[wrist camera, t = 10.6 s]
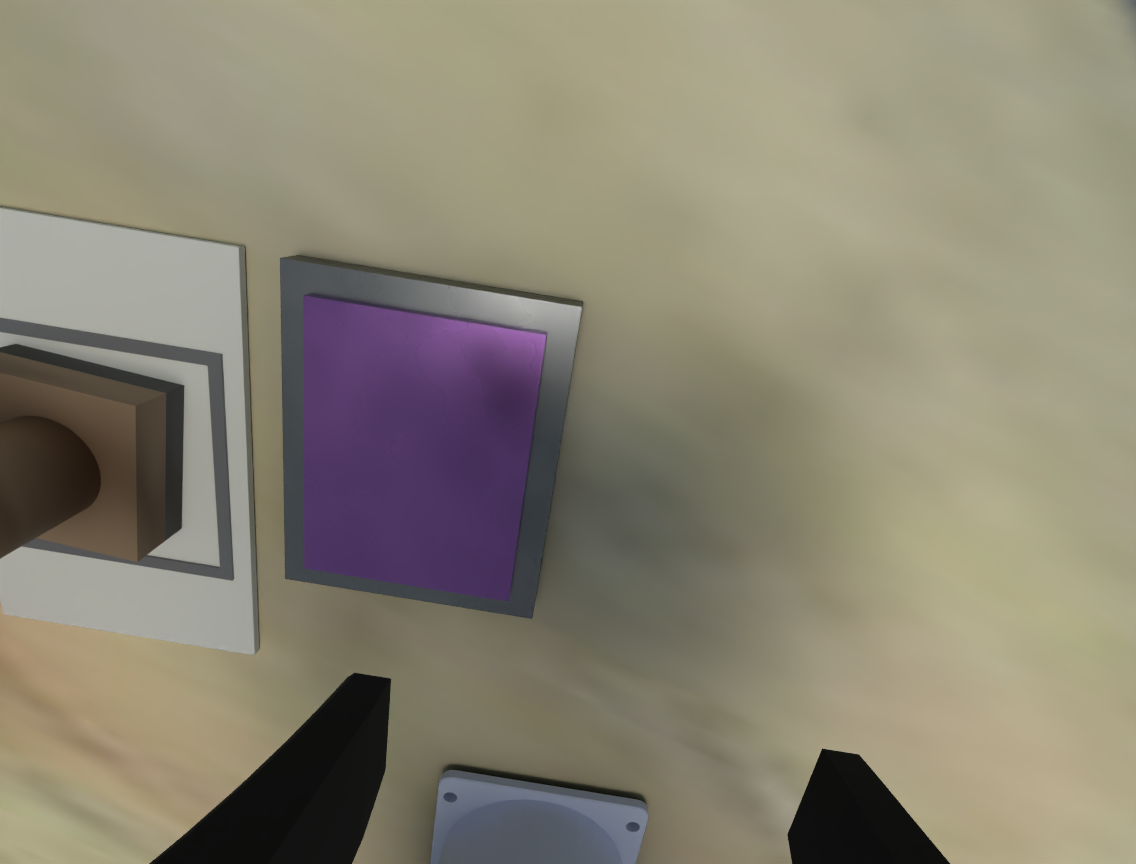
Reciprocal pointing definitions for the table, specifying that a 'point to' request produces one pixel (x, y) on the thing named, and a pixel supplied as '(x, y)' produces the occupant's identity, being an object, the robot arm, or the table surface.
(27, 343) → the form sheet
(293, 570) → the ink pad
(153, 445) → the stamp
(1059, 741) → the table surface
